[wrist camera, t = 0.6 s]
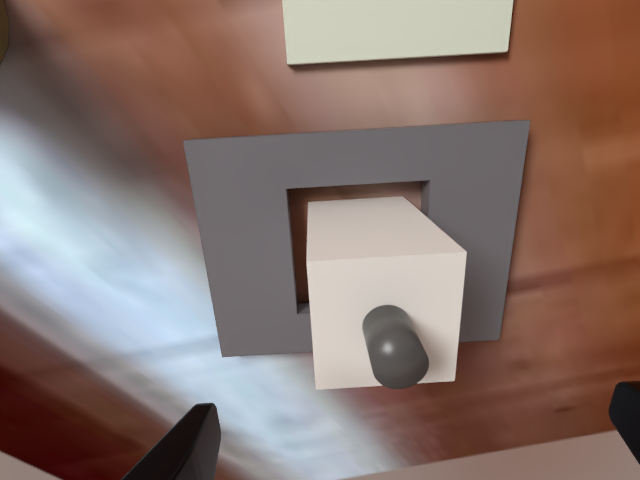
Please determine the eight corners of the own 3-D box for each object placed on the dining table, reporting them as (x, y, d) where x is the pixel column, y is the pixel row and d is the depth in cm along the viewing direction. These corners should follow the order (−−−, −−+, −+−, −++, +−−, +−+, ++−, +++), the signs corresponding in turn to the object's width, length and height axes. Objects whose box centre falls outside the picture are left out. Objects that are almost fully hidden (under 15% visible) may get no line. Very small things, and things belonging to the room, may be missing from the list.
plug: (402, 196, 18) (499, 280, 9) (400, 281, 20) (480, 427, 11) (308, 201, 18) (305, 292, 9) (313, 286, 20) (317, 438, 11)
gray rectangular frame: (515, 120, 17) (530, 120, 16) (489, 327, 21) (499, 339, 20) (191, 139, 17) (182, 140, 16) (226, 344, 21) (222, 357, 20)
